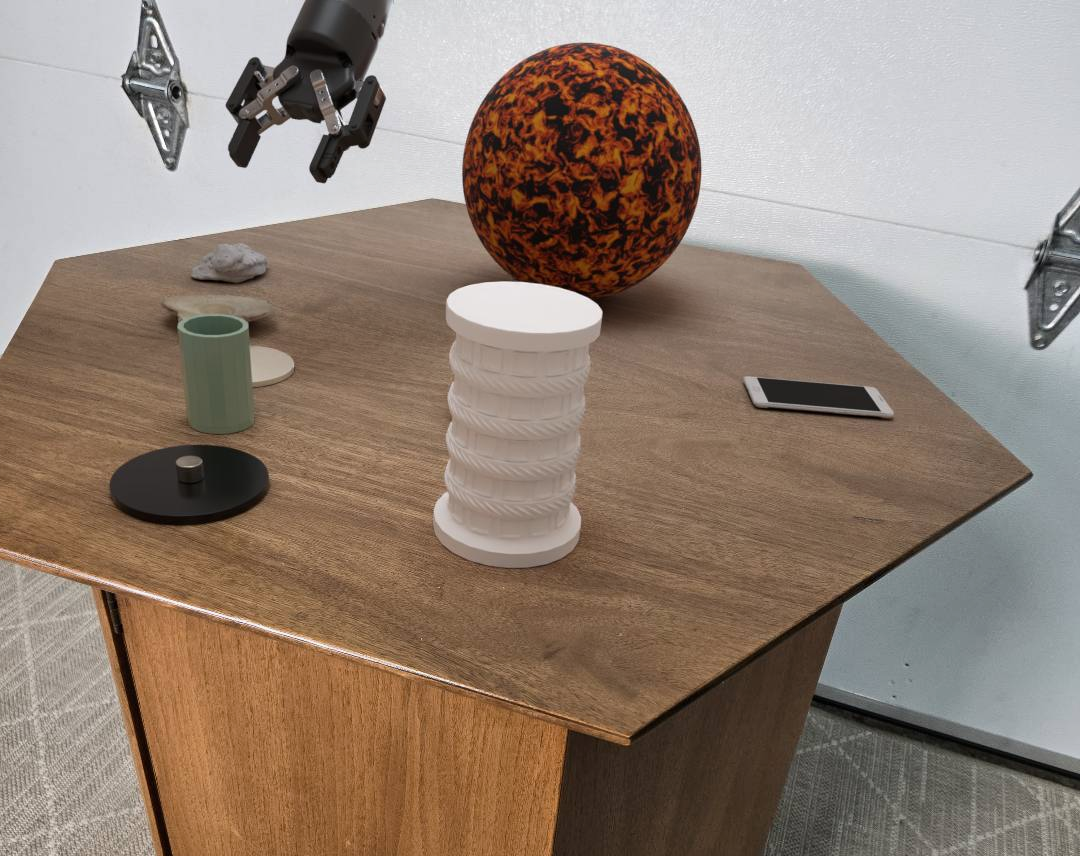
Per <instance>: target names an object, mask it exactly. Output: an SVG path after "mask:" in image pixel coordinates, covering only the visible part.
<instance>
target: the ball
mask: <svg viewBox="0 0 1080 856" xmlns="http://www.w3.org/2000/svg"><path fill="white" fill-rule="evenodd" d="M463 149H464V150H463V155H462V165H461V167H462V168H461V170H462V172H461V178H462V180H461V183H462V191H463V192H462V193H463V198H464V203H465V207H466V210H467V214H468V217H469V219H470V222H471V225H472V228H473V230H474V232H475V234H476V236H477V237H478V240H479V242H480V243H481V244H482V246H483V248H484V249H485V250H486V252H487V254H488V255H489V256H490V257H491V258H492V260H493V261H494V262H495V263H496V264H497V265H498V266H499V267H500V268H501V269H502V270H503V271H504V272H506V273H507V274H508V275H509V276H510V277H512V279H515V280H516V282H526V283H535V284H543V285H548V286H553V287H559V288H562V289H566V290H569V291H572V292H576V293H578V294H580V295H583V296H585V297H587V298H589V299H591V300H595V299H601V298H605V297H609V296H613V295H615V294H616V295H617V294H619V293H621V292H624V291H626V290H629V289H631V288H632V287H634V286H636V285H638V284H639V283H642V282H643V281H645V280H646V279H647V278H649V277H650V276H652V275H653V274H654V273H655V272H656V271H657V270H659V268H661V267H662V266H663V265H664V264H665V263H666V262H667V260H668V259H670V257H671V256H672V255H673V254H674V252H675V251H676V250H677V248H678V247H679V246H680V243H681V242H682V241H683V239H684V237H685V235H686V233H687V232H688V230H689V228H690V225H691V223H692V220H693V218H694V216H695V212H696V209H697V206H698V202H699V196H700V191H701V185H702V153H701V146H700V142H699V136H698V132H697V128H696V126H695V123H694V122H693V118H692V115H691V114H690V111H689V109H688V107H687V105H686V103H685V102H684V100H683V99H682V97H681V95H680V93H678V91H677V90H676V88H675V87H674V85H673V84H672V83H671V82H670V81H669V79H668V78H666V77H665V76H664V75H663V74H662V73H661V72H660V71H659V70H658V69H656V67H654V66H653V65H651V64H650V63H649V62H647V61H646V60H644V59H643V58H641V57H640V56H637V55H635V54H633V53H632V52H629V51H627V50H625V49H622V48H619V47H617V46H616V47H615V46H614V45H609V44H604V43H598V42H570V43H564V44H559V45H555V46H552V47H548V48H545V49H543V50H541V51H538V52H536V53H534V54H532V55H530V56H528V57H526V58H524V59H523V60H521V61H520V62H518V63H516V64H515V65H514V66H513V67H512V68H510V69H509V70H508V71H507V72H506V73H504V74H503V75H502V76H501V77H500V78H499V79H498V80H497V81H496V82H495V84H494V85H493V86H492V87H491V88H490V90H489V91H488V92H487V94H486V95H485V96H484V98H483V99H482V101H481V103H480V105H479V106H478V108H477V110H476V112H475V114H474V116H473V118H472V121H471V124H470V126H469V130H468V132H467V135H466V140H465V144H464V148H463Z"/></svg>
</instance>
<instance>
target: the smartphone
mask: <svg viewBox="0 0 1080 856" xmlns="http://www.w3.org/2000/svg"><path fill="white" fill-rule="evenodd" d="M742 381H743V383H744V386H745V388H746V390H747V392H748V394H749V397H750V399H751V401H752V404H753V405H754V406H755V407H757V408H763V409H773V410H784V411H798V412H807V413H808V412H809V413H819V414H821V413H822V414H830V415H831V414H832V415H845V416H857V417H868V418H879V419H880V418H881V419H892V418H894V416H895V412H894V410H893V409H892V407H891V406H890V405H889V404H888V402H887V401H886V399H885V398H884V397H883V395H882V394H881V393H880V391H879V390H878V389H877V388H876V387H873V386H866V385H854V384H844V383H843V384H842V383H829V382H819V381H818V382H817V381H809V380H808V381H806V380H795V379H783V378H775V377H774V378H772V377H761V376H749V375H746V376H743V378H742Z"/></svg>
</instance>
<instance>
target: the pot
mask: <svg viewBox="0 0 1080 856" xmlns="http://www.w3.org/2000/svg"><path fill="white" fill-rule="evenodd" d="M249 325H250V324H249V322H246V321H245V320H244V319H242V318H239V317H236V316H232V315H225V314H203V315H195V316H191V317H188V318H185V319H183V320H182V321H180V322H179V323H177V327H176V328H177V338H178V347H179V357H180V366H181V374H182V384H183V393H184V402H185V403H184V404H185V411H186V413H185V414H186V418H187V423H188V425H189V427H190V428H191V429H193V430H195V431H197V432H200V433H204V434H210V435H228V434H234V433H238V432H242V431H245V430H247V429H249V428H251V426H253V425H254V423H255V420H256V416H255V399H254V387H253V382H252V367H251V353H250V346H251V340H250V327H249Z"/></svg>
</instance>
